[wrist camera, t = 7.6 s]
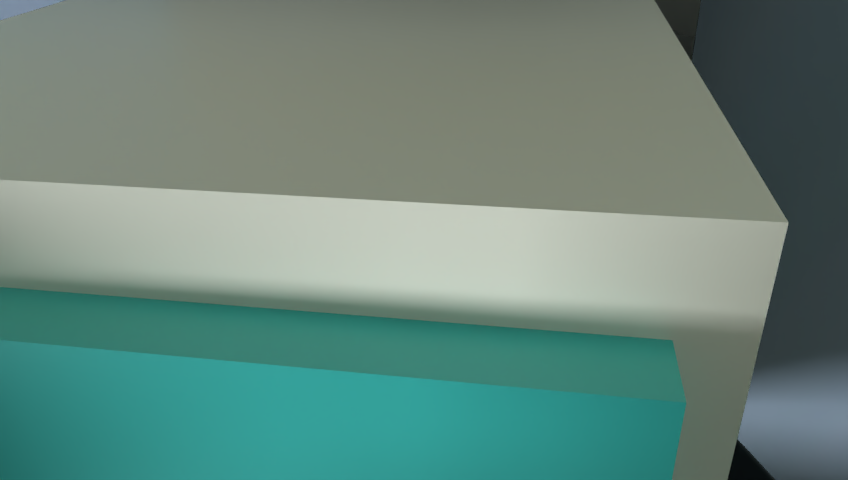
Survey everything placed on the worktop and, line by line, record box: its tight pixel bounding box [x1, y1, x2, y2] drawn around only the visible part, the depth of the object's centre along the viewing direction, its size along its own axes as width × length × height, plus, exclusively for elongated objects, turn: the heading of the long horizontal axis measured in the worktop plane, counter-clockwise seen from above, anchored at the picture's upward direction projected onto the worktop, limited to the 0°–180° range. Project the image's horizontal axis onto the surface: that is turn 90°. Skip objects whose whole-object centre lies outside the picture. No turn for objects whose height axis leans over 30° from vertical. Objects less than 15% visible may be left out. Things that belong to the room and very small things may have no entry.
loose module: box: [0, 0, 788, 480], centre depth 7 cm, size 5×8×6 cm, turn 1°
